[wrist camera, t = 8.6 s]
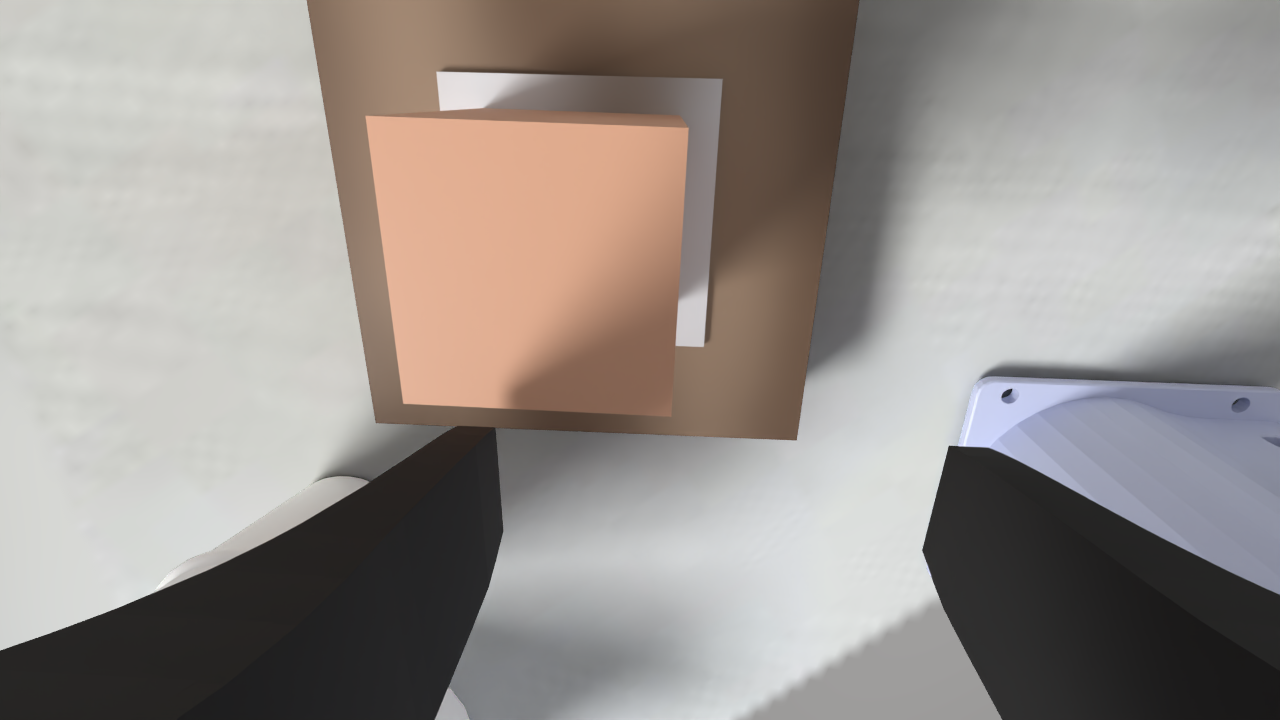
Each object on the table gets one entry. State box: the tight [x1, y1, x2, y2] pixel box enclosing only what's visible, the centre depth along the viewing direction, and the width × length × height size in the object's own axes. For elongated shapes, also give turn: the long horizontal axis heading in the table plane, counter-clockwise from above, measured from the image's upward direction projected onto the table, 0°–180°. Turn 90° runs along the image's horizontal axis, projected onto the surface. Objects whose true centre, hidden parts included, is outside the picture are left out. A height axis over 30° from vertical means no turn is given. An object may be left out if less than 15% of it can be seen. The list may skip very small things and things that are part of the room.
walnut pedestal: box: [307, 0, 859, 440], centre depth 17 cm, size 12×12×3 cm
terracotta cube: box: [365, 108, 689, 417], centre depth 12 cm, size 4×4×6 cm
